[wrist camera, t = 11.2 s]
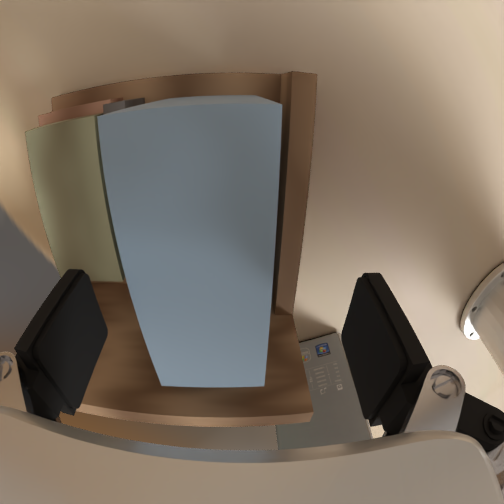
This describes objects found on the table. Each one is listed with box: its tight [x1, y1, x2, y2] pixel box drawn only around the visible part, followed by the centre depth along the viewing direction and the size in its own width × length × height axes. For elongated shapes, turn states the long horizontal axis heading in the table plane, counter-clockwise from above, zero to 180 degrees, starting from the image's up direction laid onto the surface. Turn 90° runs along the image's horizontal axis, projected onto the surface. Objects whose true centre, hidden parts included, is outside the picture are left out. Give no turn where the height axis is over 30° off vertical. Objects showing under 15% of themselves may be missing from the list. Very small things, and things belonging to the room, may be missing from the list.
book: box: [97, 95, 282, 387], centre depth 14 cm, size 5×12×10 cm, turn 179°
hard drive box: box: [275, 333, 373, 450], centre depth 23 cm, size 16×8×20 cm, turn 16°
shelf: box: [25, 71, 317, 427], centre depth 14 cm, size 16×16×12 cm
